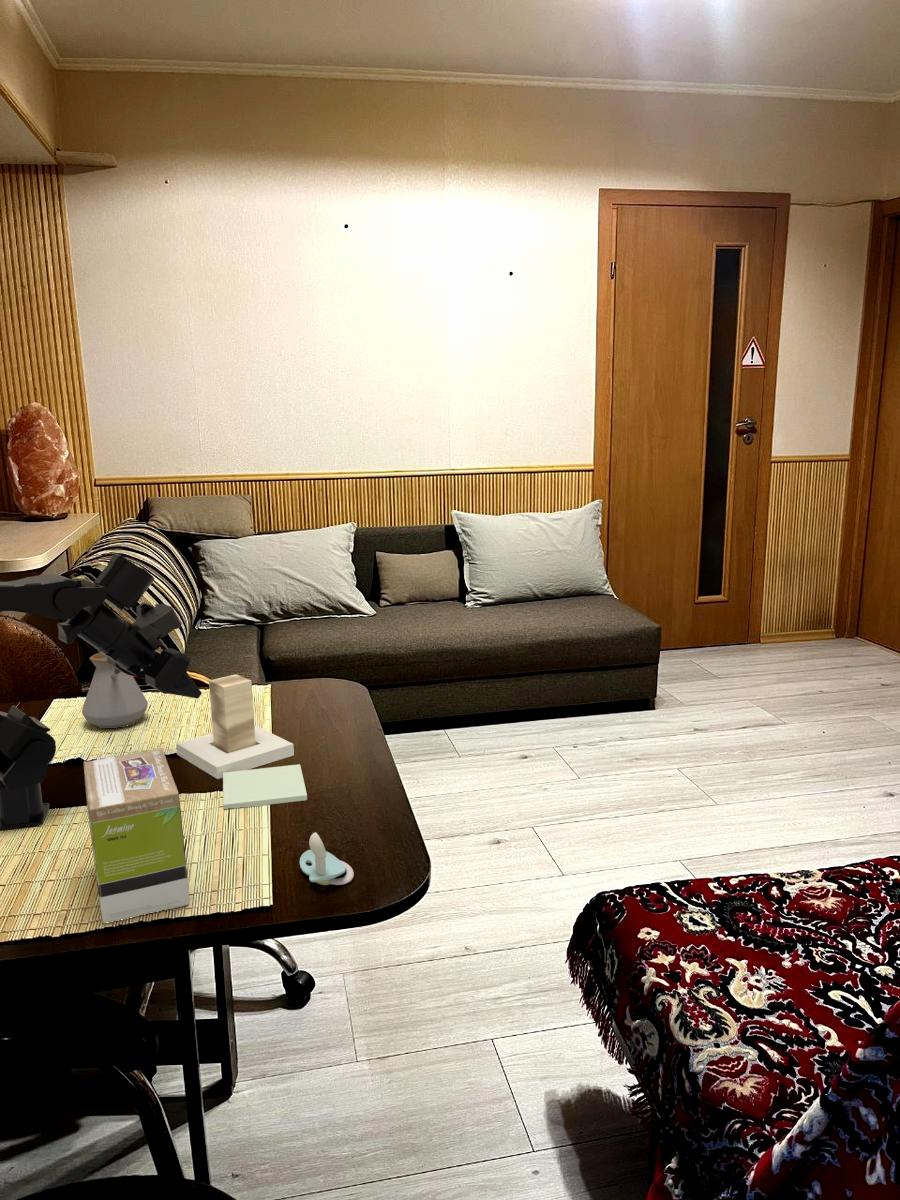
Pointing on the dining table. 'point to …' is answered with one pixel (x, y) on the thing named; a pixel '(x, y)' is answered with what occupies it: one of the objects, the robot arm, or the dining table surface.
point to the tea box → (136, 835)
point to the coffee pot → (112, 697)
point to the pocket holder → (234, 753)
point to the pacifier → (324, 864)
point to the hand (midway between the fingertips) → (186, 689)
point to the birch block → (232, 713)
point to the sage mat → (263, 786)
